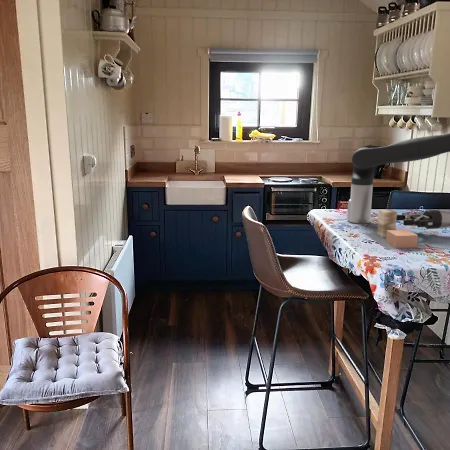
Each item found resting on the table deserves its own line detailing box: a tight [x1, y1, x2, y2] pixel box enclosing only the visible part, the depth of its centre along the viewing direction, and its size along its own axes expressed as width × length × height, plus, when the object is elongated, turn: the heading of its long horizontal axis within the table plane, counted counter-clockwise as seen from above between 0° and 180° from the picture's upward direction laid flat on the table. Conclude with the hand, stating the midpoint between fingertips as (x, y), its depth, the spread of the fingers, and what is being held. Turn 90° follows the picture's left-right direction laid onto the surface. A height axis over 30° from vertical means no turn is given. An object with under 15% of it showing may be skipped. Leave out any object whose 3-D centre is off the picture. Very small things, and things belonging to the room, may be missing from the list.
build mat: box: [363, 232, 428, 251], centre depth 175 cm, size 15×23×1 cm, turn 5°
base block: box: [386, 229, 419, 248], centre depth 169 cm, size 8×8×4 cm
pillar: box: [376, 208, 398, 237], centre depth 181 cm, size 5×5×10 cm
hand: (398, 220), depth 181 cm, fingers open, 8 cm apart
